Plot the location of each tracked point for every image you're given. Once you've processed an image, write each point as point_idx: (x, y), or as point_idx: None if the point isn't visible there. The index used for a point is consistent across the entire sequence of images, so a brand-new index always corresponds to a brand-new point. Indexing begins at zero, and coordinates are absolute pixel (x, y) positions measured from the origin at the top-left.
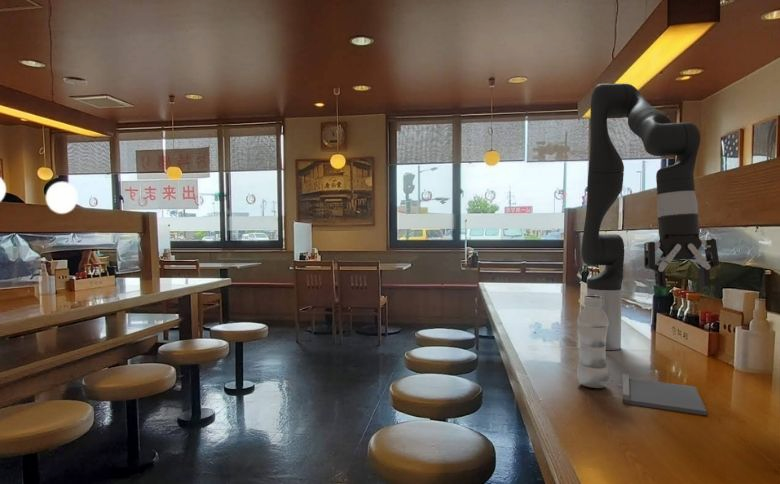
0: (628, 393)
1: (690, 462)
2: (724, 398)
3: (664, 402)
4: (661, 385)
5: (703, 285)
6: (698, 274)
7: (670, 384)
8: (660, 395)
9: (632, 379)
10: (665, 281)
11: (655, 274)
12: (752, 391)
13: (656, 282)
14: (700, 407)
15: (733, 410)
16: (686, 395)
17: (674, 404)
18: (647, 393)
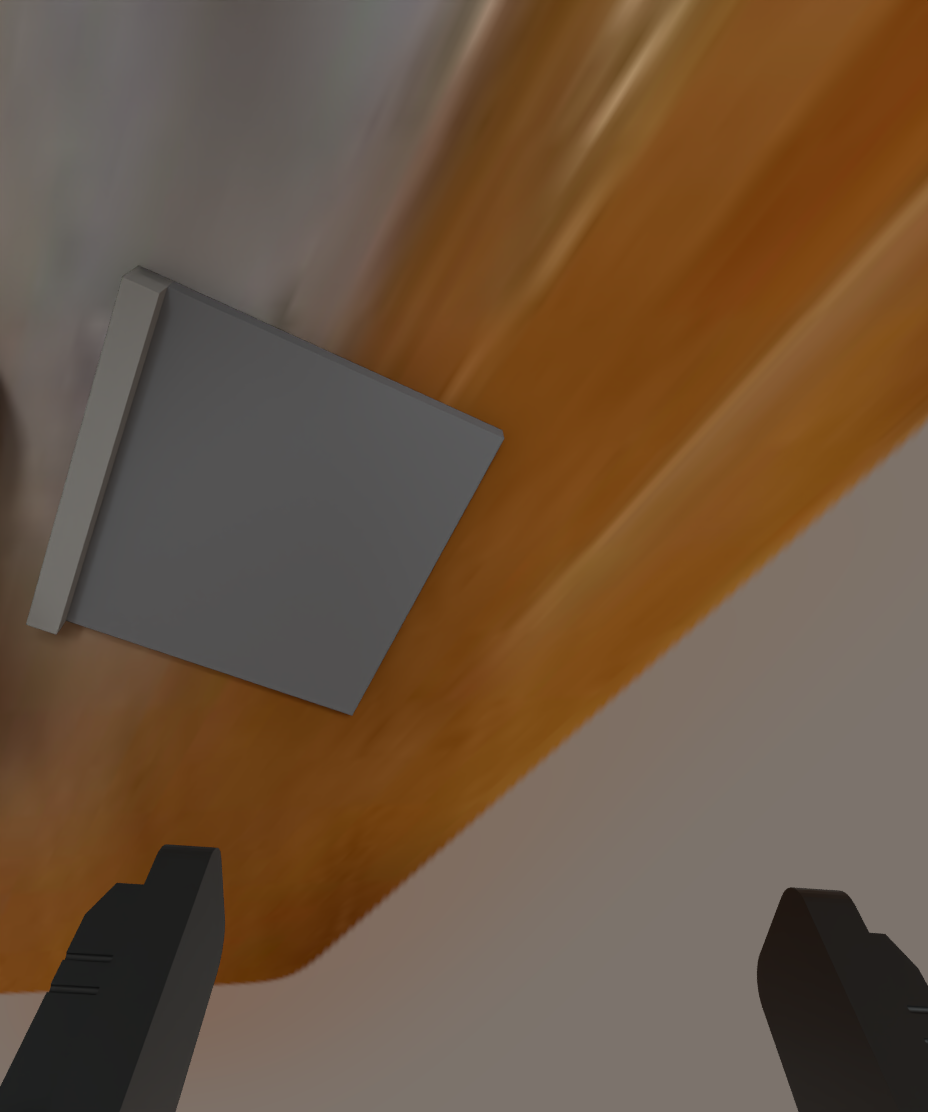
0: (57, 614)
1: None
2: (568, 535)
3: (221, 640)
4: (320, 420)
5: (770, 975)
6: (881, 1071)
7: (382, 404)
8: (242, 563)
9: (185, 312)
10: (185, 1053)
11: (3, 1108)
12: (797, 441)
13: (82, 958)
14: (349, 685)
15: (499, 657)
16: (372, 561)
17: (254, 659)
18: (186, 541)
